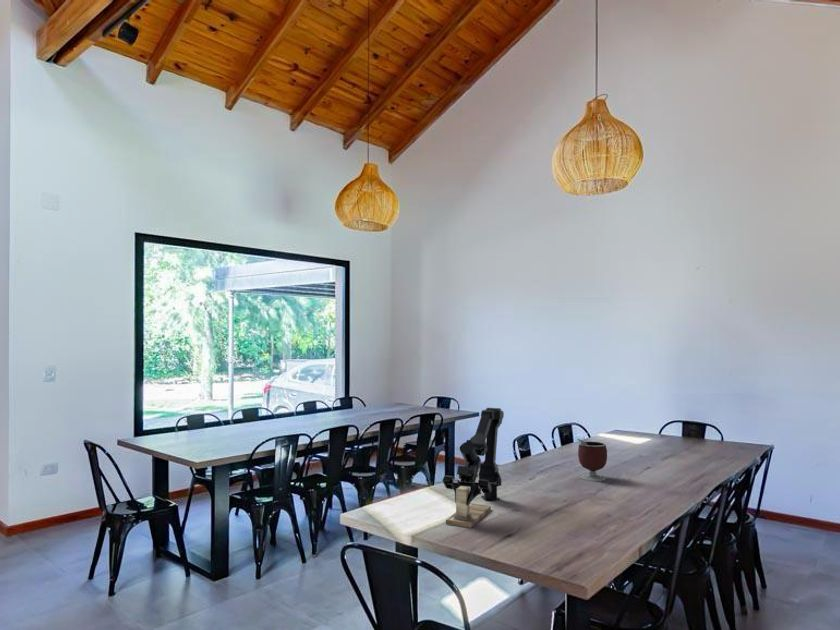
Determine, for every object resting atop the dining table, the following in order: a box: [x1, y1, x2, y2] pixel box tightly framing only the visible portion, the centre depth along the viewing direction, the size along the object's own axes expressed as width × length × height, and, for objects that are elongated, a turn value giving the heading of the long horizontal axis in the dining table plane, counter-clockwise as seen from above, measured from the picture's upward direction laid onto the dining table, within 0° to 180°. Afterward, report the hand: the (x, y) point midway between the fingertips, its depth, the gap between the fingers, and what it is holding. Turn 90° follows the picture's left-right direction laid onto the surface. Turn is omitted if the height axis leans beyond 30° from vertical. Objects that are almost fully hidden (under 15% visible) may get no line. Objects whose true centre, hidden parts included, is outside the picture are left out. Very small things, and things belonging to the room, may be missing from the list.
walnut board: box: [445, 502, 492, 528], centre depth 222 cm, size 24×10×2 cm, turn 155°
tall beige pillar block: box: [454, 486, 471, 520], centre depth 216 cm, size 5×5×11 cm
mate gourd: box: [576, 438, 608, 482], centre depth 282 cm, size 16×14×20 cm
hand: (461, 504), depth 215 cm, fingers closed on tall beige pillar block, 4 cm apart
